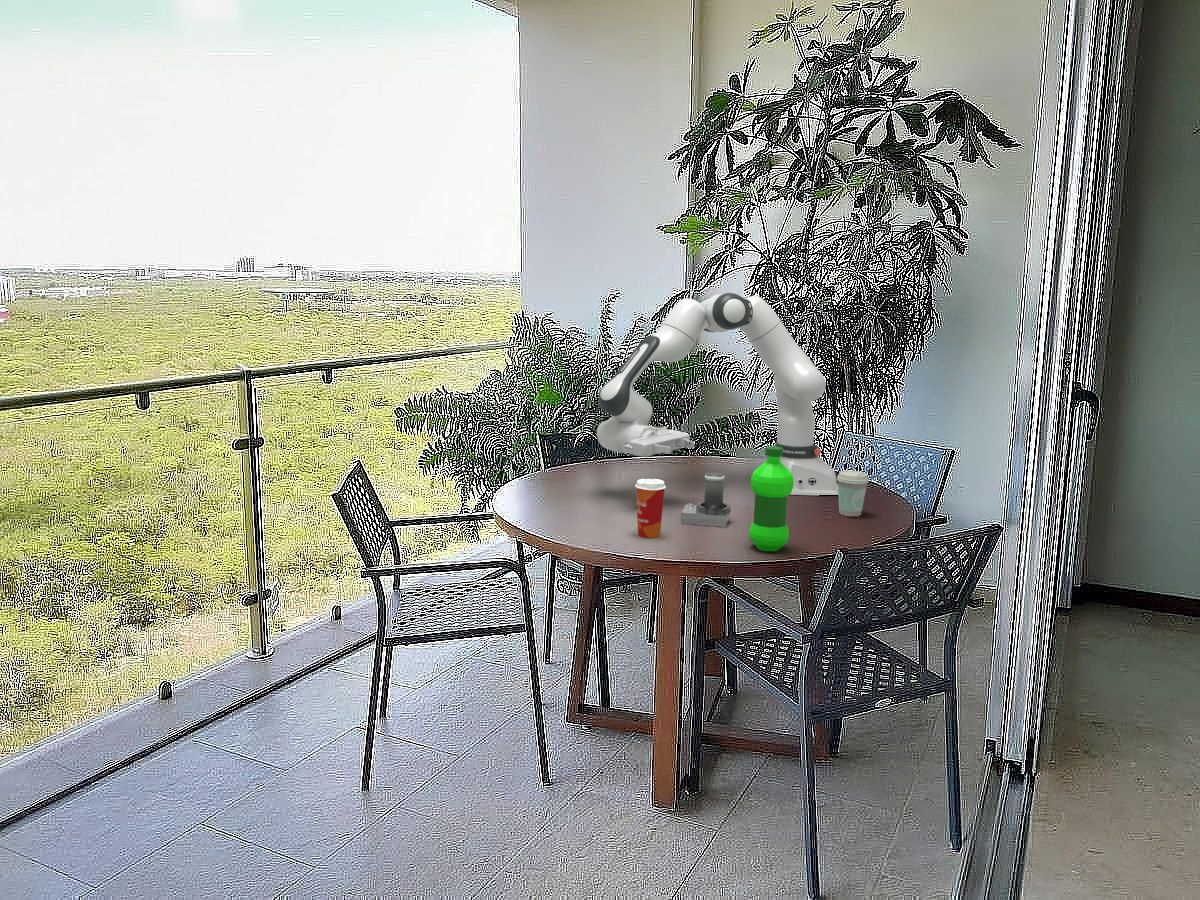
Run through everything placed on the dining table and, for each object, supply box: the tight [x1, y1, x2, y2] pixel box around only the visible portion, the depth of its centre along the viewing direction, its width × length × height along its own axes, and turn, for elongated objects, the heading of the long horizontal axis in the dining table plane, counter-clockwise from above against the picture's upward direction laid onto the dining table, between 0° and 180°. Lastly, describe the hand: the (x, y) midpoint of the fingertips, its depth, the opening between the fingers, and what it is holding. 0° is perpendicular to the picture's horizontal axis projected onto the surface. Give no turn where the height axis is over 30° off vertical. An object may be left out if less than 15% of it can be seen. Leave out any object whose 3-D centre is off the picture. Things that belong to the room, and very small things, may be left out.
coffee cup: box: [836, 470, 870, 516], centre depth 258 cm, size 9×8×12 cm
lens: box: [703, 471, 725, 509], centre depth 248 cm, size 5×5×10 cm
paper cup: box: [635, 478, 667, 539], centre depth 234 cm, size 8×8×14 cm
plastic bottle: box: [748, 445, 794, 552], centre depth 224 cm, size 10×10×25 cm
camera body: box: [680, 501, 732, 528], centre depth 249 cm, size 12×9×4 cm
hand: (681, 447), depth 254 cm, fingers open, 8 cm apart
